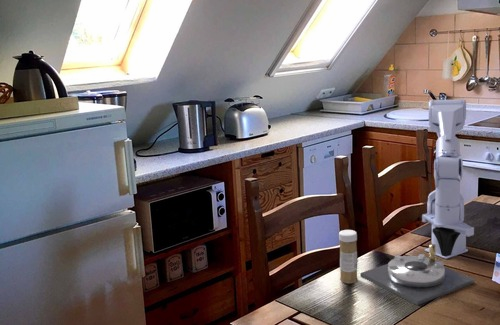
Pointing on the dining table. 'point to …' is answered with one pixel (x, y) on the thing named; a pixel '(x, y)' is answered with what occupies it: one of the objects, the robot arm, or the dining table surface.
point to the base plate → (417, 293)
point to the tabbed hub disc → (417, 269)
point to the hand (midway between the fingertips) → (446, 255)
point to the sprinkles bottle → (348, 256)
